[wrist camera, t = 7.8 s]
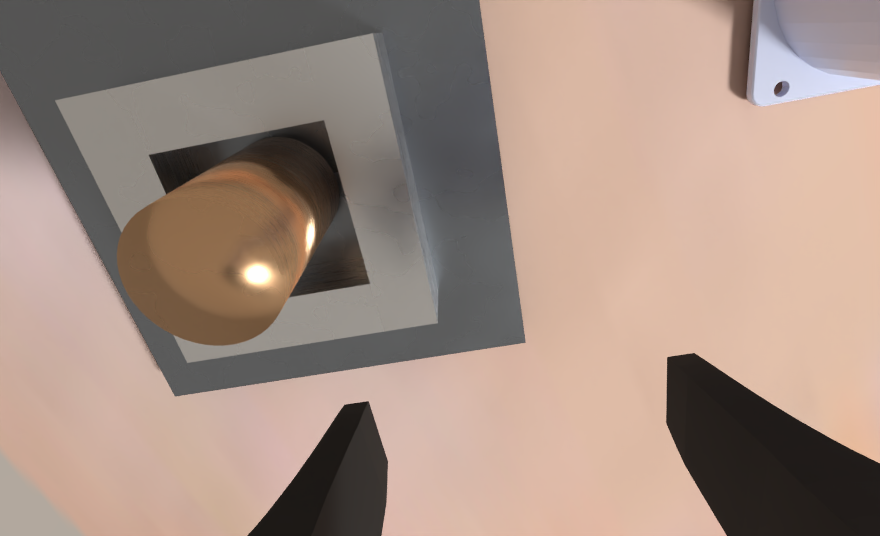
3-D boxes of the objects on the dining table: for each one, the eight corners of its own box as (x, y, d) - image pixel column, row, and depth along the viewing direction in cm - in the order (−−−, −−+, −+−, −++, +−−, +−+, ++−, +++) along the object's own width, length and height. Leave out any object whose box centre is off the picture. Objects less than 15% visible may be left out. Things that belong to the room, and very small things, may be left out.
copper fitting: (328, 131, 17) (263, 189, 11) (347, 237, 19) (301, 339, 13) (216, 142, 17) (89, 205, 11) (246, 245, 19) (150, 351, 13)
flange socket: (462, -103, 15) (468, -137, 12) (521, 329, 22) (535, 379, 19) (-9, 6, 17) (-115, 1, 13) (185, 382, 23) (145, 437, 20)
